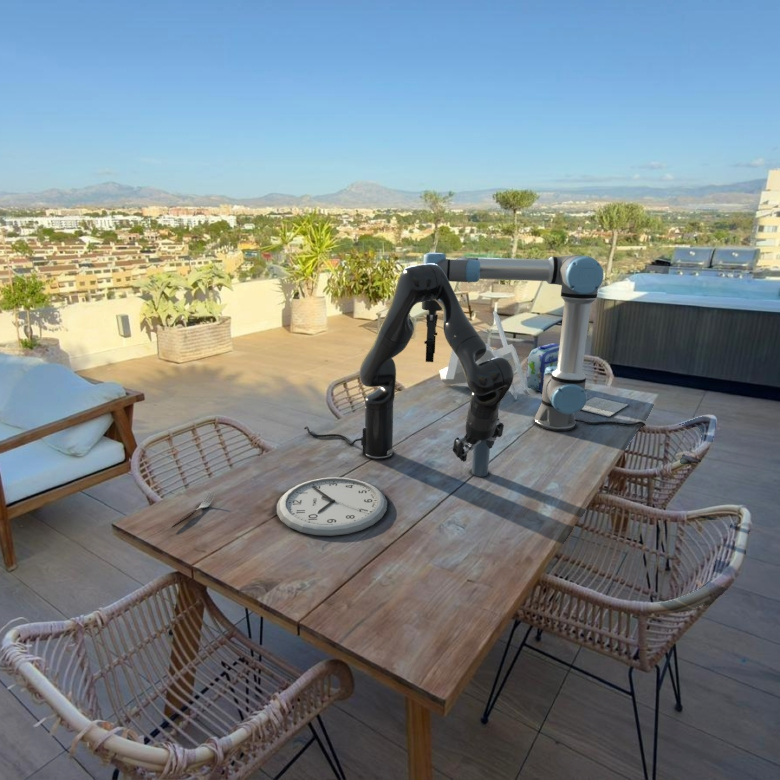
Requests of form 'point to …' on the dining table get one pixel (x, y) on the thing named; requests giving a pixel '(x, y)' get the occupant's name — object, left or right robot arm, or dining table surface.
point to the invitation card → (603, 406)
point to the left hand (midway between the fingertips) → (475, 452)
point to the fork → (203, 505)
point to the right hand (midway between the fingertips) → (430, 357)
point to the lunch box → (541, 364)
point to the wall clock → (331, 506)
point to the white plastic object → (455, 370)
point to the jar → (480, 459)
